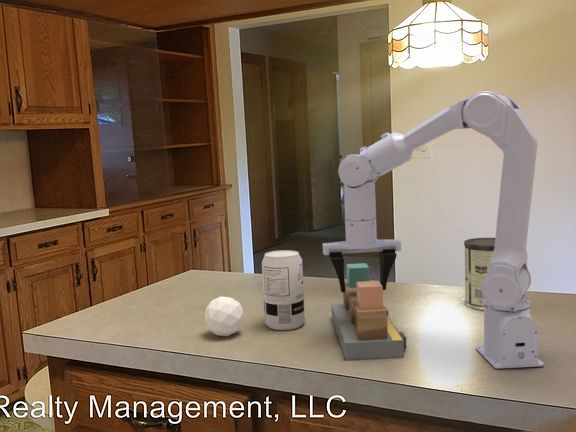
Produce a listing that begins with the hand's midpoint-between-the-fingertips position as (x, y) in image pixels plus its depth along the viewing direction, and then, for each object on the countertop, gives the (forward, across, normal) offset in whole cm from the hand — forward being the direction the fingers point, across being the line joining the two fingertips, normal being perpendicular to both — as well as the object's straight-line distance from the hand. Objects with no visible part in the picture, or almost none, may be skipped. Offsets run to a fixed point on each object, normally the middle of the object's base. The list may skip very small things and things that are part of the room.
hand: (363, 289), depth 112 cm
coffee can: (+9, -30, -16) cm, 35 cm away
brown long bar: (+6, 0, 0) cm, 6 cm away
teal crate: (+1, 0, -8) cm, 8 cm away
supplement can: (+9, +15, -9) cm, 20 cm away
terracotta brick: (+1, 0, +8) cm, 8 cm away
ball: (+9, +27, -5) cm, 29 cm away
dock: (+9, 0, 0) cm, 9 cm away
